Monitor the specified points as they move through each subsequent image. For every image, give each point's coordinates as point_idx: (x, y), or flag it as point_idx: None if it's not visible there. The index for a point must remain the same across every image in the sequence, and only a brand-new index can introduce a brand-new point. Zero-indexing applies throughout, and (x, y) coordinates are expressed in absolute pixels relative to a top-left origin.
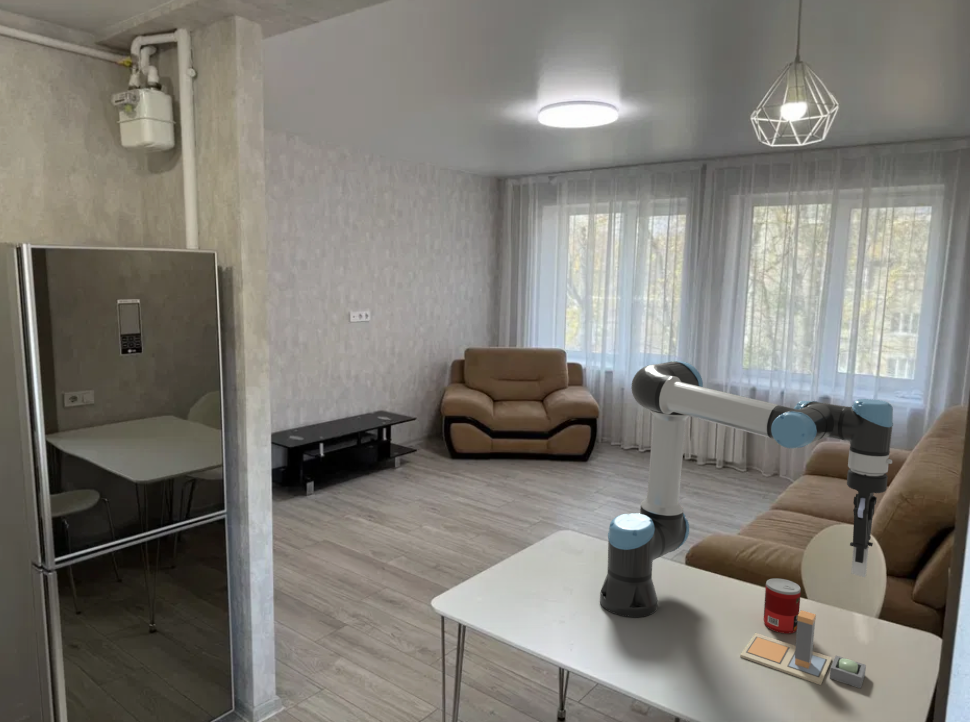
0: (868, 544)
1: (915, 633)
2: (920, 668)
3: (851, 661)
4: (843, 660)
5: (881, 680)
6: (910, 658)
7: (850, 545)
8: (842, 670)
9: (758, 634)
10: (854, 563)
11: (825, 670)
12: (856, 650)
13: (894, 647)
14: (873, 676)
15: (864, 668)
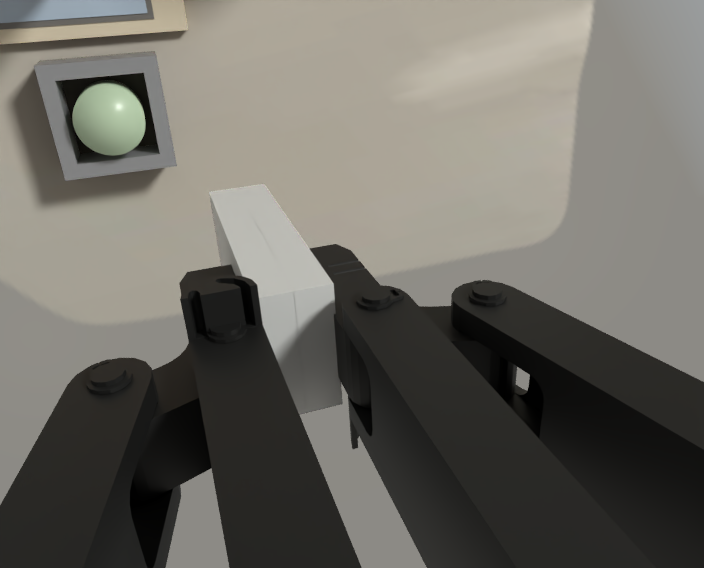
0: (351, 415)
1: (554, 199)
2: None
3: (132, 126)
4: (114, 99)
5: (186, 203)
6: (392, 229)
7: (187, 293)
8: (55, 110)
9: None
10: (224, 241)
11: (61, 36)
12: (328, 85)
13: (431, 176)
14: (191, 178)
15: (145, 169)
